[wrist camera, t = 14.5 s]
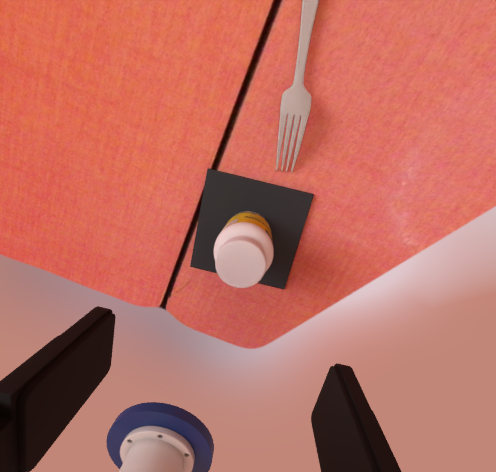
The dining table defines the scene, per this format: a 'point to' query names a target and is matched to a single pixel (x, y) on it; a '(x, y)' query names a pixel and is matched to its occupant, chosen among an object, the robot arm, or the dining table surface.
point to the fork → (297, 91)
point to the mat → (254, 200)
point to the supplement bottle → (244, 250)
